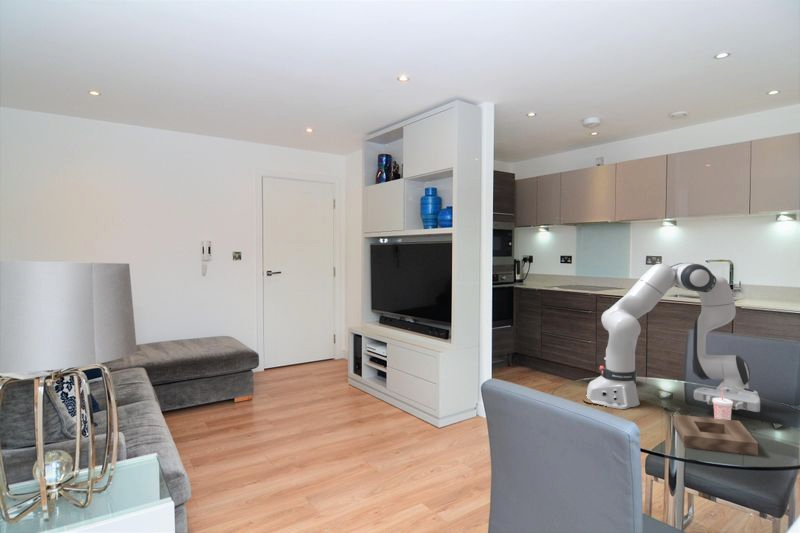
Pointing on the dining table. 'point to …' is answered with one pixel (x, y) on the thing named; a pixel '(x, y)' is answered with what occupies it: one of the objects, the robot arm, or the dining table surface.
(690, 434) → the walnut tray
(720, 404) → the beverage cup
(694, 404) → the dining table surface
